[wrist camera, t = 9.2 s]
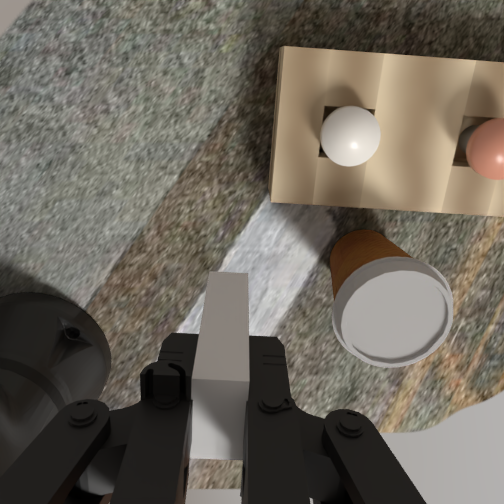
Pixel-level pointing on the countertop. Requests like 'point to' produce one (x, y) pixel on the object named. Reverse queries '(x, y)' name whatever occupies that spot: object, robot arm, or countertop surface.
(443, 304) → the disposable coffee cup
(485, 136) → the pink round-capped knob part
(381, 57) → the block
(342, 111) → the white mushroom knob
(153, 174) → the countertop surface
